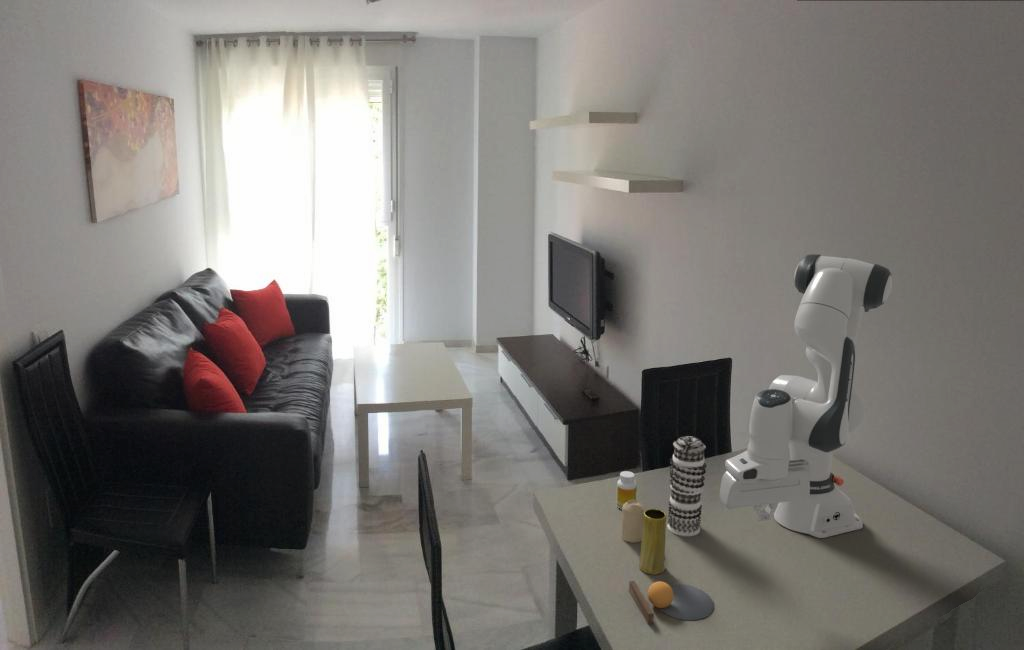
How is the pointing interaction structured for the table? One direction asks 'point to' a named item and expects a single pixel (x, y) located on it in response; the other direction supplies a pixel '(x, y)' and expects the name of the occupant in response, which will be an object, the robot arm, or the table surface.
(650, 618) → the stopper strip
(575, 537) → the table surface
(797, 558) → the table surface
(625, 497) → the supplement bottle
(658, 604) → the ball
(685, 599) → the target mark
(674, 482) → the decorative candle
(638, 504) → the candle
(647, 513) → the vase
